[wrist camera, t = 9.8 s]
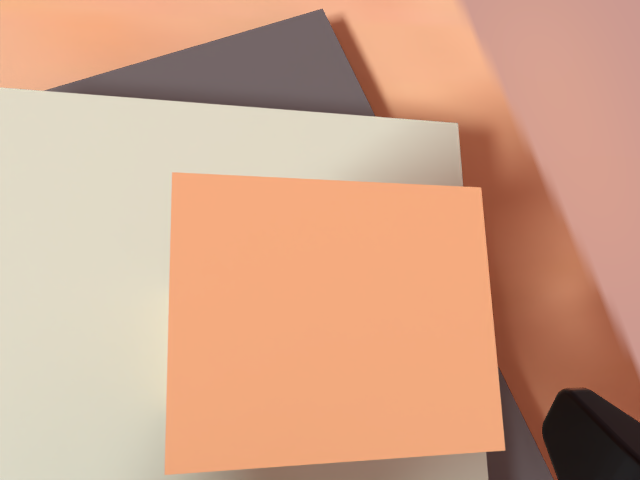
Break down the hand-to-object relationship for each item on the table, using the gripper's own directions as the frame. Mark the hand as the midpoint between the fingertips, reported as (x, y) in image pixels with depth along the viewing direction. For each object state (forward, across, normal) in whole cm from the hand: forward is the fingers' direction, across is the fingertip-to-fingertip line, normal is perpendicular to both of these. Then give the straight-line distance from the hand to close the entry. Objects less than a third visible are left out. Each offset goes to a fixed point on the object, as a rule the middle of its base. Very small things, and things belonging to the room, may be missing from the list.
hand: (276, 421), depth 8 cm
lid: (+6, 0, +4) cm, 7 cm away
